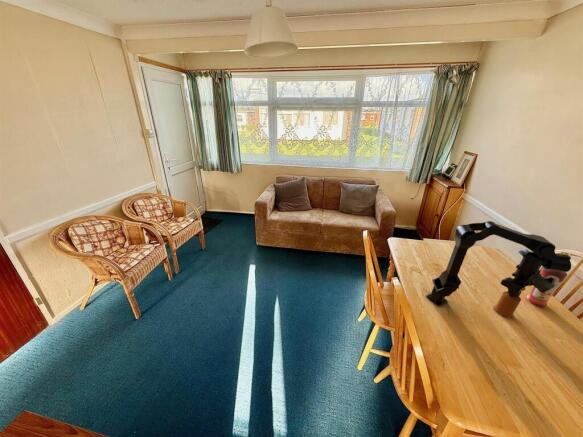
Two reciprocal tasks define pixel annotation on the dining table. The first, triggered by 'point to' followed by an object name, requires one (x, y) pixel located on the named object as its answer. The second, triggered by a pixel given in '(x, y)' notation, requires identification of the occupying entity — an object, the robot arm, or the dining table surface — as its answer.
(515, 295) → the cap
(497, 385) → the dining table surface
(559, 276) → the liquor
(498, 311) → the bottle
